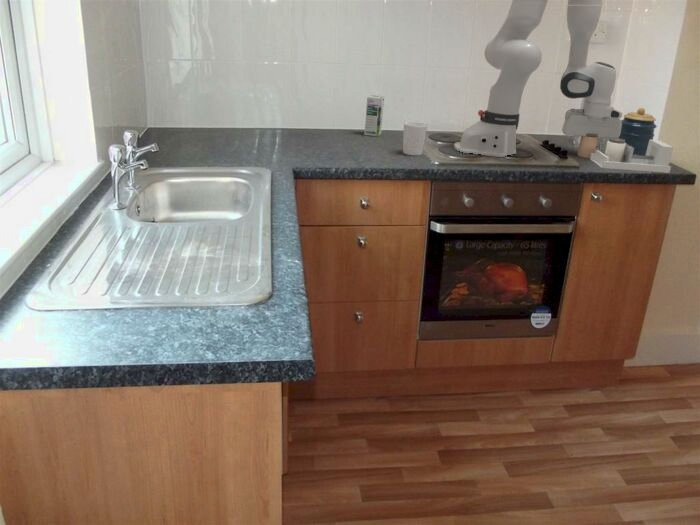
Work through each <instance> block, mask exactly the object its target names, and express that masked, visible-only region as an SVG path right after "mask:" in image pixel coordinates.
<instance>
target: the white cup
mask: <svg viewBox="0 0 700 525" xmlns="http://www.w3.org/2000/svg"><path fill="white" fill-rule="evenodd" d="M427 130H428V124H425V123H424V122H418V121H417V122H416V121H409V122H408V121H406V122H404V123H403V135H402V138H403V139H402V153H403V154H405V155H408V156H422V155H423V149H424V146H425V142H426V136H427V135H426V134H427Z"/></svg>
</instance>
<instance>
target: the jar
mask: <svg viewBox="0 0 700 525" xmlns="http://www.w3.org/2000/svg"><path fill="white" fill-rule="evenodd" d="M597 136H598V134H587V135H586V136H581V139H580V144H581V145H580V148H577V156H578V157H580V158H586V159H590V156H591V153H595V151H596V148H597V144H598V143H599V139H600V137H597Z"/></svg>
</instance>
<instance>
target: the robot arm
mask: <svg viewBox="0 0 700 525" xmlns="http://www.w3.org/2000/svg"><path fill="white" fill-rule="evenodd" d="M548 2H549V1H548V0H512V1H511V5H510V7H509V10H508V13H507V15H506V18H505V19H504V20H503V21H504V22H503V23H502V24H501V25H502V26H501V27H500V28H499V30H498V31H497V33H496V35H495V36H494V37H493V38H492V39H491V40H489V42H488V43H487V44H486V46H485V49H484V59H485V61H486V63H488V64H489V65H490V66H491V67H493V68H494V69H497V70H500V73H499V75H498V78H497V80H496V82H495V83H494V84H493V85H492V86H491V87H490V89H489V90H490V91H489V97H488V102H487V110H483V109H482V110H481V109H480V110H478V111H477V115H478V116H479V121H477V122H476V123H474V124H473V125H470V126H469V127H467V128H465V129H464V131H463V133H462V135H461V138H460V141H457V142H455V143H454V144H453V148H454V150H456V151H457V152H459V151H460V153H462V152H463V154H469V153H473V154H472V155H478V154H481V155H480V156H487V157H497V158H506V157H508V156H507V155H511V154H515V153H516V154H517V143H516V141H517V130H518V127H519V122H520V107H521V103H522V96H523V92H524V90H525V87H526V84H527V82H528V80H529V78H530V77H531V75H532V74H533V73H534V72H535V71H537V69H538V68H539V67H540V65H541V62H542V58H543V57H542V51H541V49H540V47H539V46H538V45H536V44H534V43H533V42H531V41H530V40H527V39H528V38H529V36H530V35H531V34H532V32H533V31H534V30H535V29H537V27H539V25H540V24H541V22H542V19H543V15H544V13H545V10H546V8H547V4H548ZM602 7H603V0H567V7H566V9H567V10H566V22H567V24H566V25H567V29H568V33H569V38H570V39H569V40H570V43H569V44H570V47H569V56H568V63H567V67H566V68H565V70H564V72H563V74H562V76H561V79H560V85H559V86H560V87H559V88H560V92H561V94H562V95H563V96H565V97H566V98H568V99H581V98H585V101H584V105H583V109H580V108H577V109H576V108H570V109H568V110H567V111H566V112H565V113H564V114H565V115H564V122H563V124H562V128H561V132H562V134H563V135H565V136H572V139H573V141H575V144H574V148H575V149H579V148H580V145H581V144H580V143H578V140H577V139H579V136H586V135H587V134H598V136H597V137H599V139H600V141H598V143H597V148H596V150H599V151H601V149H602V146H603V144H605V143H606V141H607V139H609V138H610V137H616V138H618V137H619V136H620V133H621V127H622V121H621V120H622V119H621V118H622V117H623V112H621V111H620V110H618V109H616V108H615V107H612V106H611V103H612V101H611V100H612V95H613V92H614V89H615V85H616V78H617V70H616V68H615V67H614V66H613V65H611V64H609V63H606V62H601V61H595V62H594V63H592V64H590V65H588V66H587V60H588V53H589V46H590V41H591V39H592V36H593V34H594V32H595V30H596V29H597V26H598V23H599V20H600V17H601V14H602V13H601V12H602ZM516 154H515V155H516ZM505 156H506V157H505ZM511 156H512V155H511Z"/></svg>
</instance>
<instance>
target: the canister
mask: <svg viewBox="0 0 700 525" xmlns="http://www.w3.org/2000/svg"><path fill="white" fill-rule="evenodd" d="M645 112H646V109H645V108H643V107H639V108H638V109H637V111H636V112H633V111H629V112H628V113H626V114H624V115H623V118H622V119H620V120H621V121H622V127H621V133H620V136H619V137H618V138H622V139H625V143H626V144H628V145H630V146H632V147H633V148H634V151H633V154H637V155H646V151H647V147H648V143H649V140H654V137H655V134H654V133H655V129H656V128H657V127H658V125H657V124H655V121H656V120H657V119H656V118H655V117H654V116H653V115H651V114H648V113H645Z"/></svg>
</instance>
